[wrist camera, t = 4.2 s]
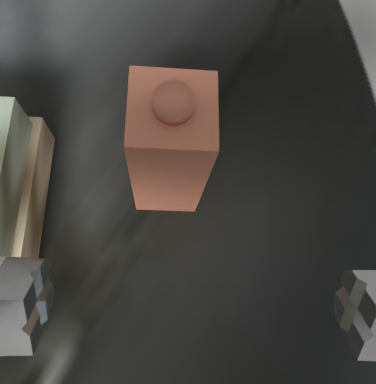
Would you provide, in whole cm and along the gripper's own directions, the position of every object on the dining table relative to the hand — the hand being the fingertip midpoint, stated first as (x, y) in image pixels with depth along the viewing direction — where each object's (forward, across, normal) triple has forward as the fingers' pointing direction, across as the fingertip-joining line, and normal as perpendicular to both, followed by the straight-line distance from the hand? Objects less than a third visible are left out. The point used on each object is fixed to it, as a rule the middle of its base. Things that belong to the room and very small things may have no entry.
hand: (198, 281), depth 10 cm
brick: (+15, +1, +4) cm, 16 cm away
